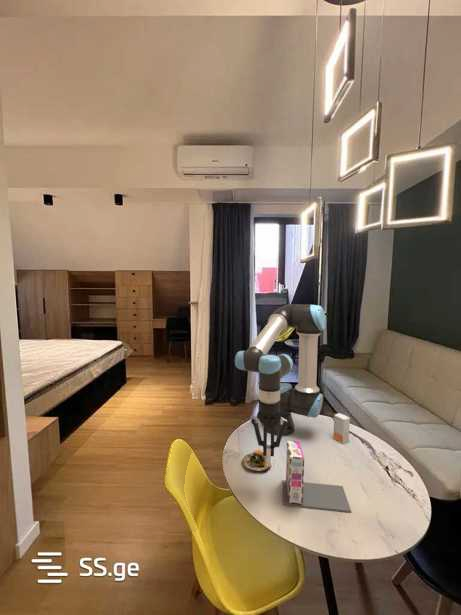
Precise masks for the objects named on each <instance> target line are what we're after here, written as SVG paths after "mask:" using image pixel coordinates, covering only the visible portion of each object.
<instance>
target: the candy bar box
mask: <svg viewBox="0 0 461 615" xmlns="http://www.w3.org/2000/svg"><path fill="white" fill-rule="evenodd" d="M301 445H302V444H301V441H298V440H286V461H285V462H286V467H285V480H286V486H287V493H288V501H289V503H292V504H303V482H304V476H305V474H304V473H305V472H304V471H305V456H304V454H303V450H302V446H301Z"/></svg>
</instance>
